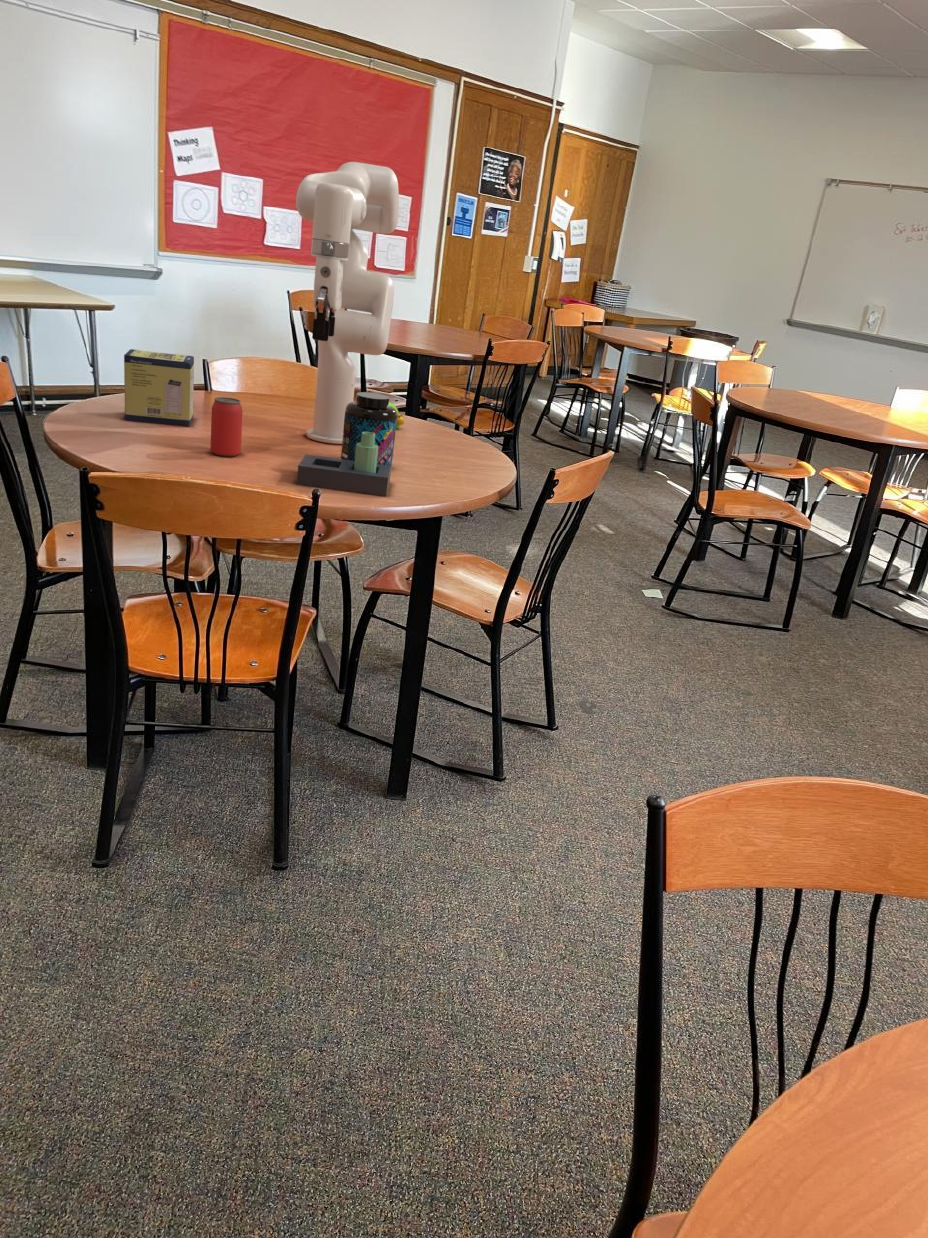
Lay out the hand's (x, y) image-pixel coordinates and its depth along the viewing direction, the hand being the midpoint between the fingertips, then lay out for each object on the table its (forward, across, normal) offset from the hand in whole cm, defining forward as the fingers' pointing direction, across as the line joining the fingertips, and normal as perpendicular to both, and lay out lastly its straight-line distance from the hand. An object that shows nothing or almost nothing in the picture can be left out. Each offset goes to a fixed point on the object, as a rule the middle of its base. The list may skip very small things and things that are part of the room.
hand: (323, 337), depth 189 cm
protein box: (+28, +28, +42) cm, 58 cm away
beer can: (+28, +3, +20) cm, 35 cm away
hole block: (+28, -9, -8) cm, 31 cm away
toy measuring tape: (+28, +61, -9) cm, 68 cm away
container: (+28, +10, -11) cm, 32 cm away
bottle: (+28, -9, -12) cm, 32 cm away
